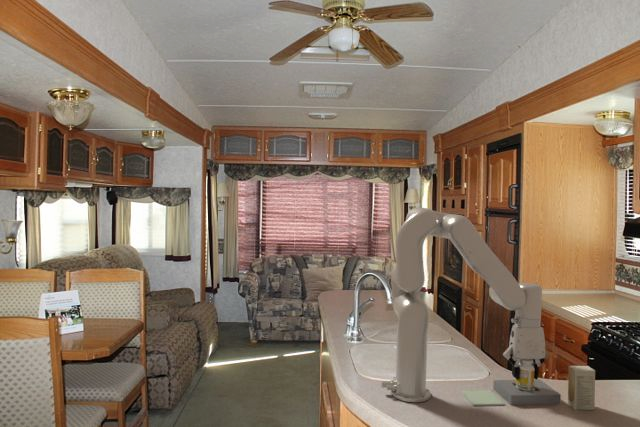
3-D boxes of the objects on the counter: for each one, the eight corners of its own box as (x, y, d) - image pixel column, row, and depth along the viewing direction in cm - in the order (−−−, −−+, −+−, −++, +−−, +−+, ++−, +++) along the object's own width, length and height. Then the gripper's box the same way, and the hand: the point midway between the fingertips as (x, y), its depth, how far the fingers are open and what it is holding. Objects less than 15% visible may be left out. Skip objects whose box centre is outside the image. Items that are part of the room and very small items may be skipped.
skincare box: (587, 404, 149) (589, 365, 148) (594, 410, 144) (596, 370, 144) (566, 403, 149) (568, 364, 148) (573, 409, 144) (574, 370, 144)
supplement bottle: (520, 391, 151) (522, 361, 150) (512, 384, 156) (513, 355, 156) (537, 391, 151) (538, 361, 151) (528, 384, 157) (529, 355, 156)
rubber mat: (473, 405, 146) (473, 404, 146) (460, 392, 156) (460, 390, 156) (504, 405, 147) (504, 403, 147) (490, 391, 157) (490, 390, 157)
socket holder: (510, 405, 147) (511, 395, 147) (493, 389, 159) (493, 380, 159) (560, 403, 148) (560, 394, 148) (539, 388, 160) (539, 379, 160)
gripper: (507, 325, 148) (504, 382, 149) (560, 325, 150) (557, 382, 150) (496, 318, 156) (494, 373, 156) (546, 319, 157) (544, 373, 158)
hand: (525, 377), depth 153 cm, fingers closed on supplement bottle, 5 cm apart
